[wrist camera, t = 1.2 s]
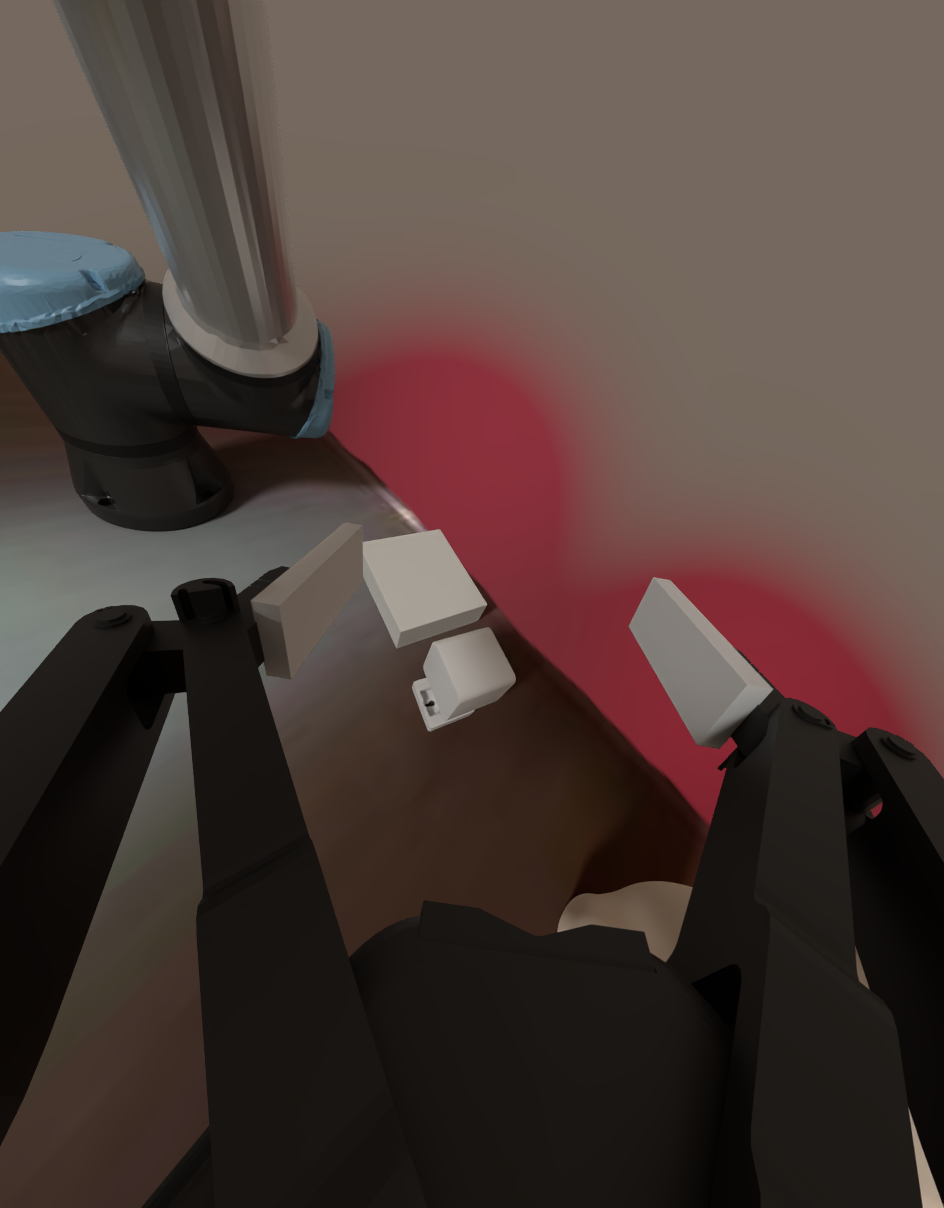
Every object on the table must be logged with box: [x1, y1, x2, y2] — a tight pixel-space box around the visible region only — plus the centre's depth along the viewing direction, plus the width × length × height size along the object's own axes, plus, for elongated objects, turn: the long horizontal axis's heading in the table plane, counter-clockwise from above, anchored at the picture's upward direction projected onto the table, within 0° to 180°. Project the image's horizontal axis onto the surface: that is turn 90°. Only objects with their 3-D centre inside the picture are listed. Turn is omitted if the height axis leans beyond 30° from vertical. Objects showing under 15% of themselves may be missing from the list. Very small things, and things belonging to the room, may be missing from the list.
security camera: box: [412, 627, 516, 731], centre depth 35 cm, size 6×7×10 cm
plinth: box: [363, 529, 487, 648], centre depth 45 cm, size 14×12×4 cm
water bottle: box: [558, 881, 944, 1208], centre depth 19 cm, size 10×9×28 cm
